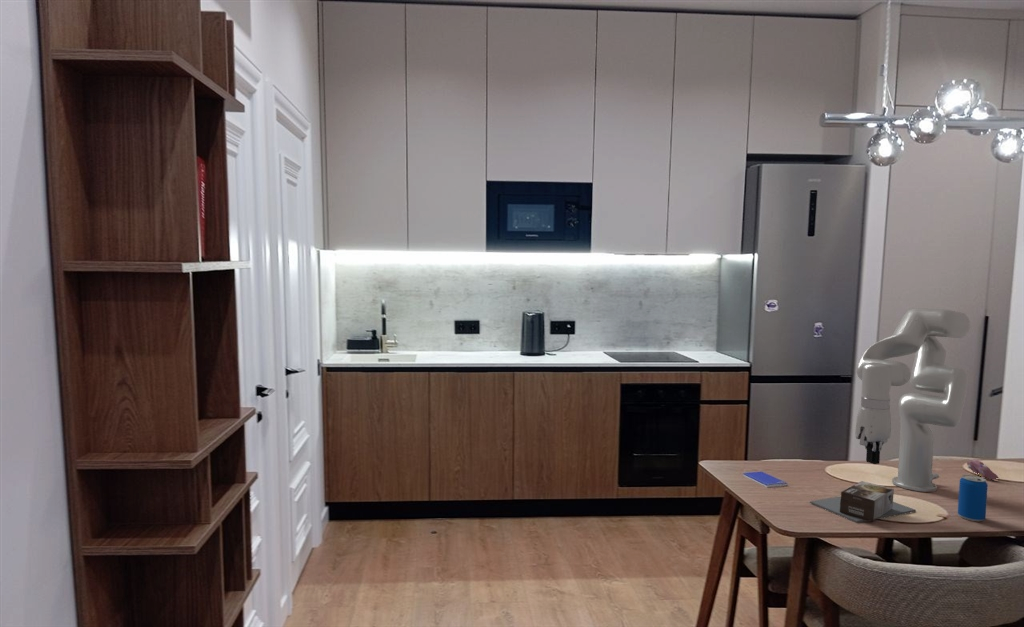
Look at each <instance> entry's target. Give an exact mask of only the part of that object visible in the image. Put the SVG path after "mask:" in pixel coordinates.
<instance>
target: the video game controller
mask: <svg viewBox="0 0 1024 627" xmlns="http://www.w3.org/2000/svg"><path fill="white" fill-rule="evenodd" d="M966 465H967V468H968V469H970V470H971V471H972V473H974V472H975V473H977V474H978V473H979V476H978V477H980V476H983V477H987V478H986V479H988V478H989V480H990V479H996V478H999V476H998V475H997V474H996V473H995V472H993V471H992V469H991V468H990V467H989V466H987V465H986V464H985V463H984V462H982V461H980V460H975V459H973V460H969V461H967V462H966Z"/></svg>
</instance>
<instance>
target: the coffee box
mask: <svg viewBox="0 0 1024 627" xmlns="http://www.w3.org/2000/svg"><path fill="white" fill-rule="evenodd" d="M894 493H895V491H894V488H891V487H887V486H883V485H878V484H875V483H872V482H868V481H865V480H860V481H859V482H857V483H855V484H854V485H852V486H850V487H848V488H846V489H844V490H842V491H841V492H840V496H841V500H840V512H841V513H844V514H848V515H851V516H855V517H858V518H862V519H865V520H869V522H874V521H875V520H878V519H877V518H878V517H880V516H881V515H883V514H885V513H886V512H888V511H889V510H891V509H892V507H893V502H894Z"/></svg>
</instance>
